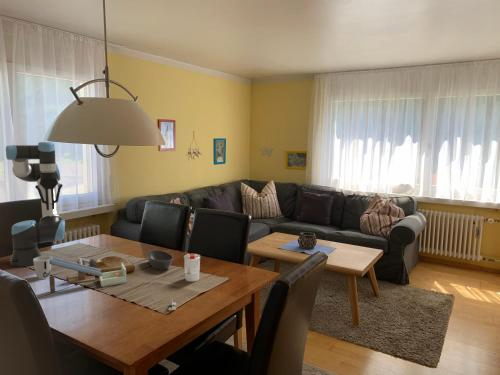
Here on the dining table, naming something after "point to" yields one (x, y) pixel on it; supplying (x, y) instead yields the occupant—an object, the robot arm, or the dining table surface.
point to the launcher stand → (72, 279)
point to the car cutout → (172, 305)
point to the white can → (192, 267)
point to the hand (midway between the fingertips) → (51, 215)
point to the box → (109, 278)
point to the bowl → (159, 259)
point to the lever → (77, 265)
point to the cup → (42, 266)
